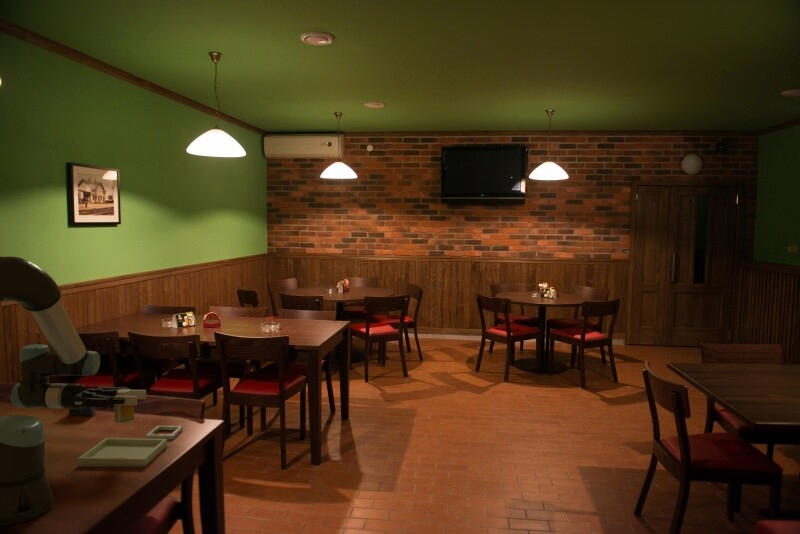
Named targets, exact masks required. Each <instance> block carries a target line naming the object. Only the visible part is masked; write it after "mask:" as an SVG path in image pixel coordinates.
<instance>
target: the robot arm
mask: <svg viewBox="0 0 800 534" xmlns="http://www.w3.org/2000/svg"><path fill="white" fill-rule="evenodd" d="M61 291H62V290H61V289H60V287H59V286H58V283H57V282H56V281H55V279H54V278H53V277H52V276H51V275H49V274H48V272H47V271H46V270H45V269H44V268H42V267H40V266H39V265H37V263H36V264H35V263H34V262H32V261H30V260H28V259H27V258H26V259H25V258H22V257H18V256H11V255H10V256H0V309H1V307H2V302H14V303H18V304H20V305H21V307H22V308H23V309H24V311H27V312H30V314H31V315H32V317H33V318H34V319H35V321H36V323H37V325H38V327H39V328H40V330H41V331H42V333H43V336H44V337H45V338H46V340H47V342H48V343H49V344H50V347H51V348H52V350H53V351H50V348H49V346H48V345H47V344H42V343H35V344H27V345H25V346H23V347H21V348H20V350H19V378H20V382H18V383H16V384H15V385H14V386H13V388H12V389H11V394H10V397H9V398H10V402H11V403H12V405H13V406H15V407H17V408H25V409H26V408H27V409H44V408H45V409H55V410H59V409H68V410H69V409H76V408H79V407H95V408H105V409H106V408H110V409H113V408H115V405H134V406H137V405H138V400H146V399H147V389H131V395H130V396H117V391H118V390H121V389H128V387H127V386H123V387H122V386H120V387H119V386H118V387H116V386H99V385H98V386H96V388H93V387H92V388H86V389H85V386H84V387H83V386H82V385H83V384H81V383H60V382H57V383H55V382H53V383H50V377H58V376H59V377H61V376H62V377H63V376H64V377H67V376H68V377H71V376H72V377H74V376H77V377H83V376H84V377H85V376H94V375H95V374H97V373H98V371H99V370H100V365H101V355H100V353H98V351H94V350H93V351H92V350H88V351H87V348H86V346H85V345H84V343H83V341H82V340H81V337H80V336H79V333H78V331H77V329H76V327H75V325H74V323H73V322H72V320H71V318H70V316H69V313H68V312H67V310H66V308H65V305H64V304H63V303H62V301H61V298H62V292H61ZM45 439H46V434H45V428H44V424H43V422H42V421H41V420H40V418H37V417H36V416H35V417H34V416H30V415H25V414H23V415H22V414H11V415H4V416H3V415H2V416H0V527H4V526H12V525H16V524H21V523H25V522H28V521H31V520H34V519H35V518H38V517H40V516H43V515H44V514H45V513H47V512H48V511H50V509H52V508H53V506H54V504H55V502H54V501H55V500H54V497H55V496H54V492H53V491H52V488H51V486H50V483H49V481H48V478H47V477H46V461H45V460H46V458H45V457H46V452H45V451H46V450H45Z"/></svg>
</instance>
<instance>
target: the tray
mask: <svg viewBox="0 0 800 534" xmlns="http://www.w3.org/2000/svg"><path fill="white" fill-rule="evenodd" d="M167 447H168V440H167V439H146V438H139V437H138V438H134V437H133V438H131V437H130V438H129V437H105V438H104V439H103V440H101V441H100V442H99V443H97V444H96V445H94V446H93V447H92V448H90V449H88V450H87V451H86V452H84V453H83V454H81V455H80V456H79V457H77V467H93V468H94V467H97V468H101V467H102V468H103V467H104V468H106V467H107V468H146V467H147V466H148V465H150V464H151V462H153V461H154V460H155V459H156V458H157V457H158V456H159V455H160V454H161V453H162V452H163V451H164V450H165V449H166V448H167Z"/></svg>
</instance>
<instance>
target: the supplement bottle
mask: <svg viewBox="0 0 800 534" xmlns="http://www.w3.org/2000/svg"><path fill="white" fill-rule="evenodd" d="M131 390H132V389H130V388H127V389H121V390H118V391H117V396H130V395H131ZM134 420H135V405H115V404H114V422H115V423H116V424H128V423H131V422H133V421H134Z"/></svg>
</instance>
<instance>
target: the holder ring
mask: <svg viewBox="0 0 800 534" xmlns="http://www.w3.org/2000/svg"><path fill="white" fill-rule="evenodd" d="M159 430H171V431H170V432H172V433H171V434H165V433H163V434H161V433H159V432H160V431H159ZM182 430H184V426H183V425H157V426H155V427H154V428H153V429H152V430H150V431H149V432H148V433H147V434H146V435H145V439H167V441H173V440H175V438H176V437H177V436H179V435H180V432H181V431H182ZM182 432H183V431H182ZM182 432H181V433H182Z"/></svg>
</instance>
